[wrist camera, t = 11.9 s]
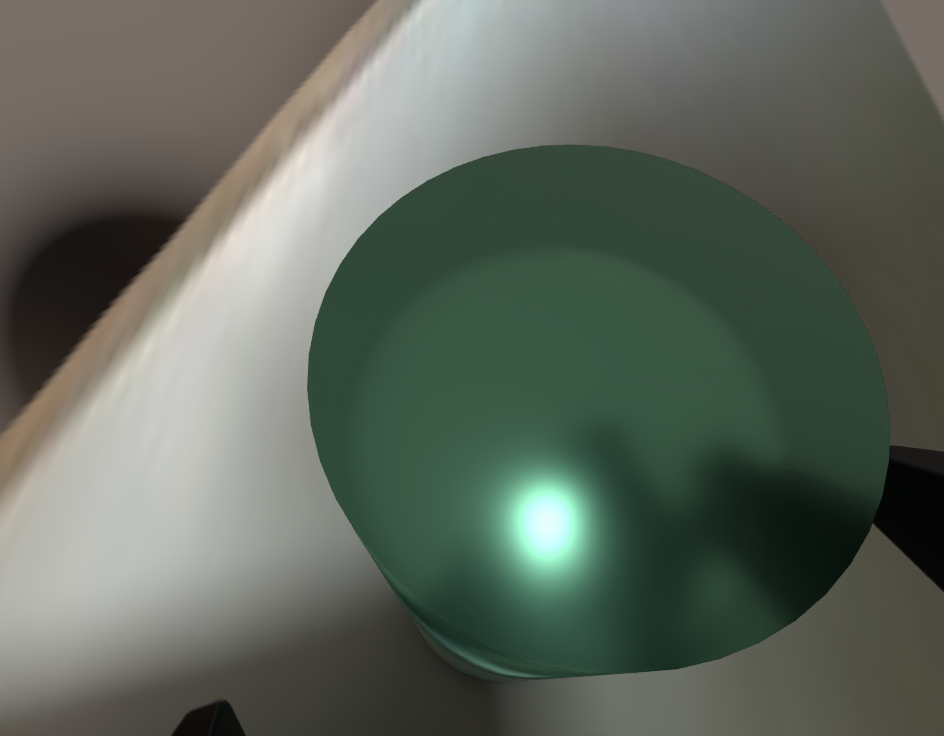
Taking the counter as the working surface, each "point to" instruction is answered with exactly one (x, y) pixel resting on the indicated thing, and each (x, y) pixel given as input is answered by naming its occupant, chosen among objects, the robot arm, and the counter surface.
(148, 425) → the counter surface
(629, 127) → the counter surface
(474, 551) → the green tall cylinder
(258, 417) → the counter surface
